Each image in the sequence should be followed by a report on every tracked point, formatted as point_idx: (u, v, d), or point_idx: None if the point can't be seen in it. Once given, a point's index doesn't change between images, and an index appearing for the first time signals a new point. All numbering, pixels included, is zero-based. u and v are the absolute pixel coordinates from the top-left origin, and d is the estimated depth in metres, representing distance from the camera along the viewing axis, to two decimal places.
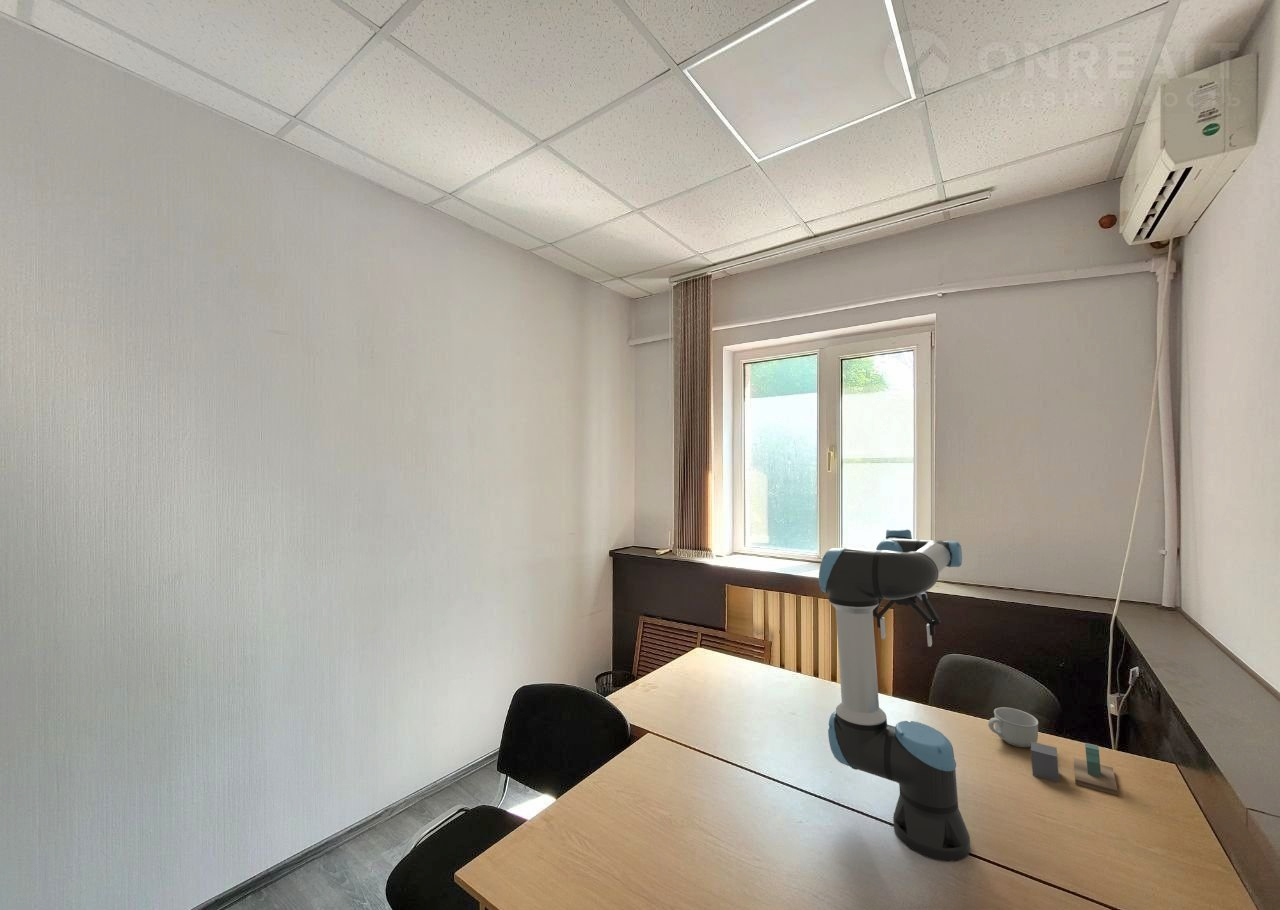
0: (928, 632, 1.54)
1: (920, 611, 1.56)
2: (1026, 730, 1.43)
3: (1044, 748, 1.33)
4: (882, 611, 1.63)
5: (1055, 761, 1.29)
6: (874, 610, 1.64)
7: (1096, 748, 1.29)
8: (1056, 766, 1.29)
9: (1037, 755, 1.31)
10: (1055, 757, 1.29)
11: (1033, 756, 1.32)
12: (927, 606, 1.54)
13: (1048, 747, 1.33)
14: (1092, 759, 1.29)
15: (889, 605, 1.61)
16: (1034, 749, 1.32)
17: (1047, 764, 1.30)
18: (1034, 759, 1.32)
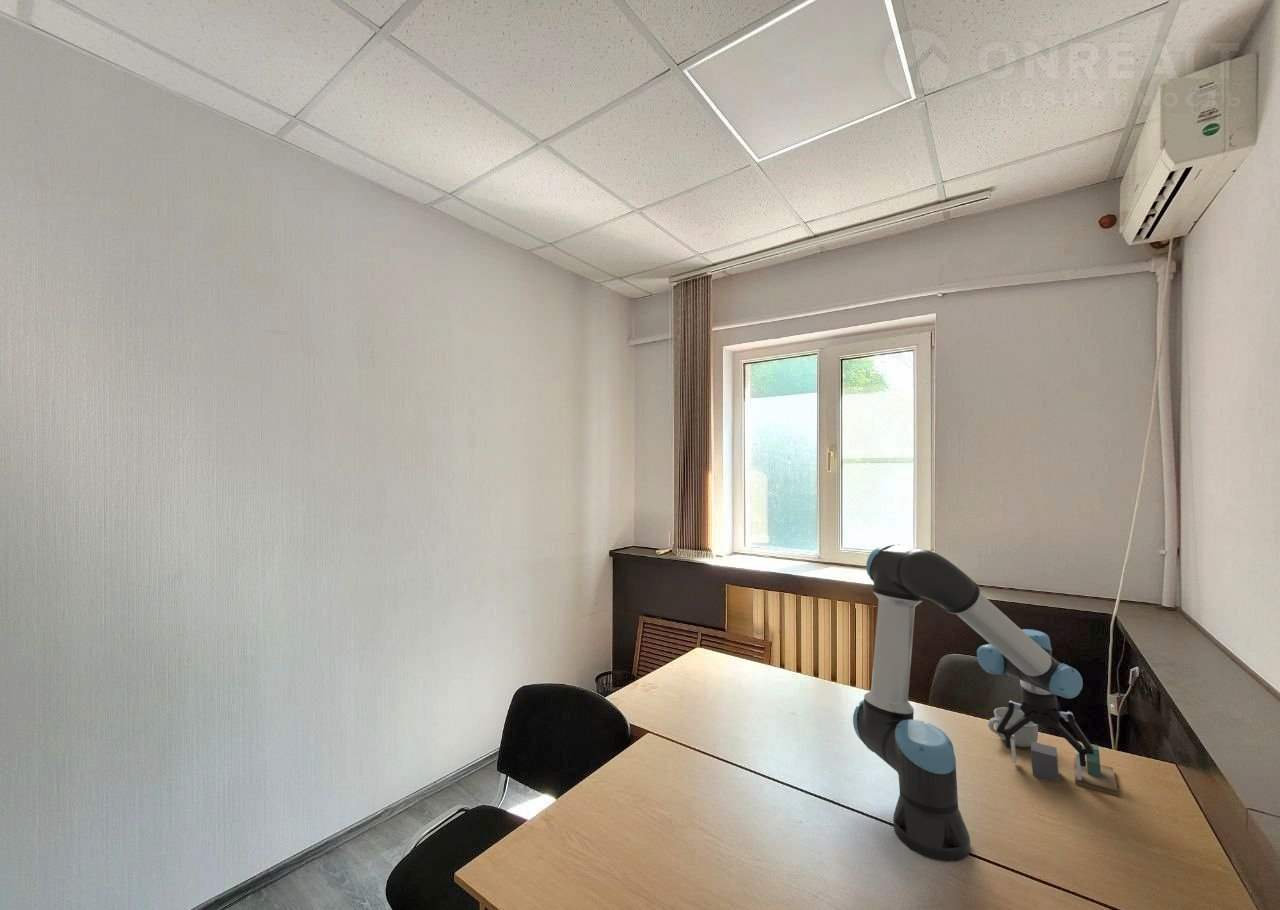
0: (1078, 762, 1.27)
1: (1066, 735, 1.29)
2: (1026, 730, 1.43)
3: (1044, 748, 1.33)
4: (1013, 729, 1.36)
5: (1055, 761, 1.29)
6: (1002, 727, 1.38)
7: (1096, 748, 1.29)
8: (1056, 766, 1.29)
9: (1037, 755, 1.31)
10: (1055, 757, 1.29)
11: (1033, 756, 1.32)
12: (1076, 730, 1.28)
13: (1048, 747, 1.33)
14: (1092, 759, 1.29)
15: (1022, 723, 1.35)
16: (1034, 749, 1.32)
17: (1047, 764, 1.30)
18: (1034, 759, 1.32)
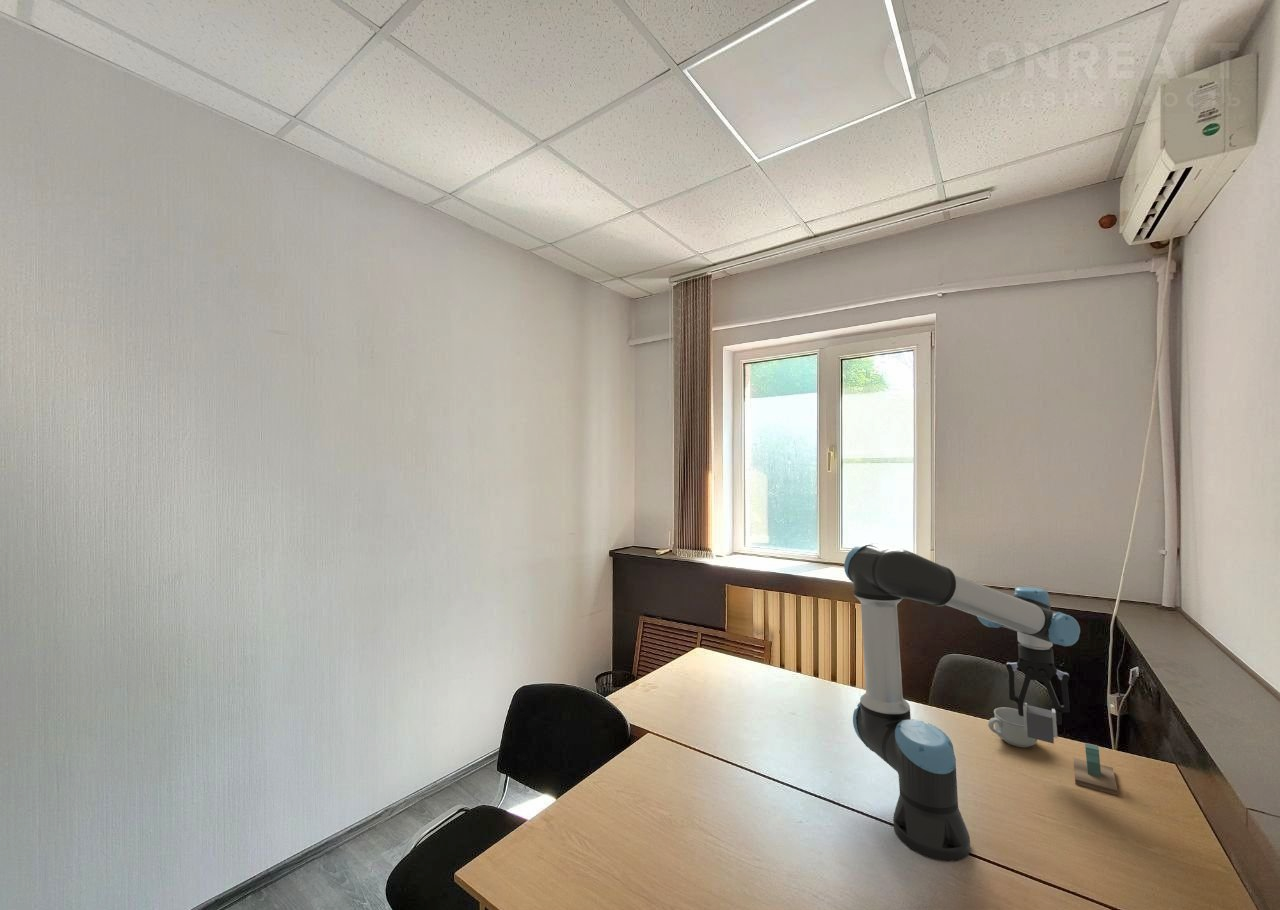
0: (1054, 720, 1.30)
1: (1052, 693, 1.31)
2: None
3: (1040, 711, 1.33)
4: (1022, 694, 1.35)
5: (1050, 722, 1.29)
6: (1012, 693, 1.36)
7: (1096, 748, 1.29)
8: (1051, 727, 1.29)
9: (1033, 717, 1.32)
10: (1051, 718, 1.29)
11: (1029, 718, 1.32)
12: (1064, 689, 1.29)
13: (1044, 710, 1.34)
14: (1092, 759, 1.29)
15: (1026, 684, 1.34)
16: (1030, 711, 1.33)
17: (1043, 726, 1.30)
18: (1029, 721, 1.32)
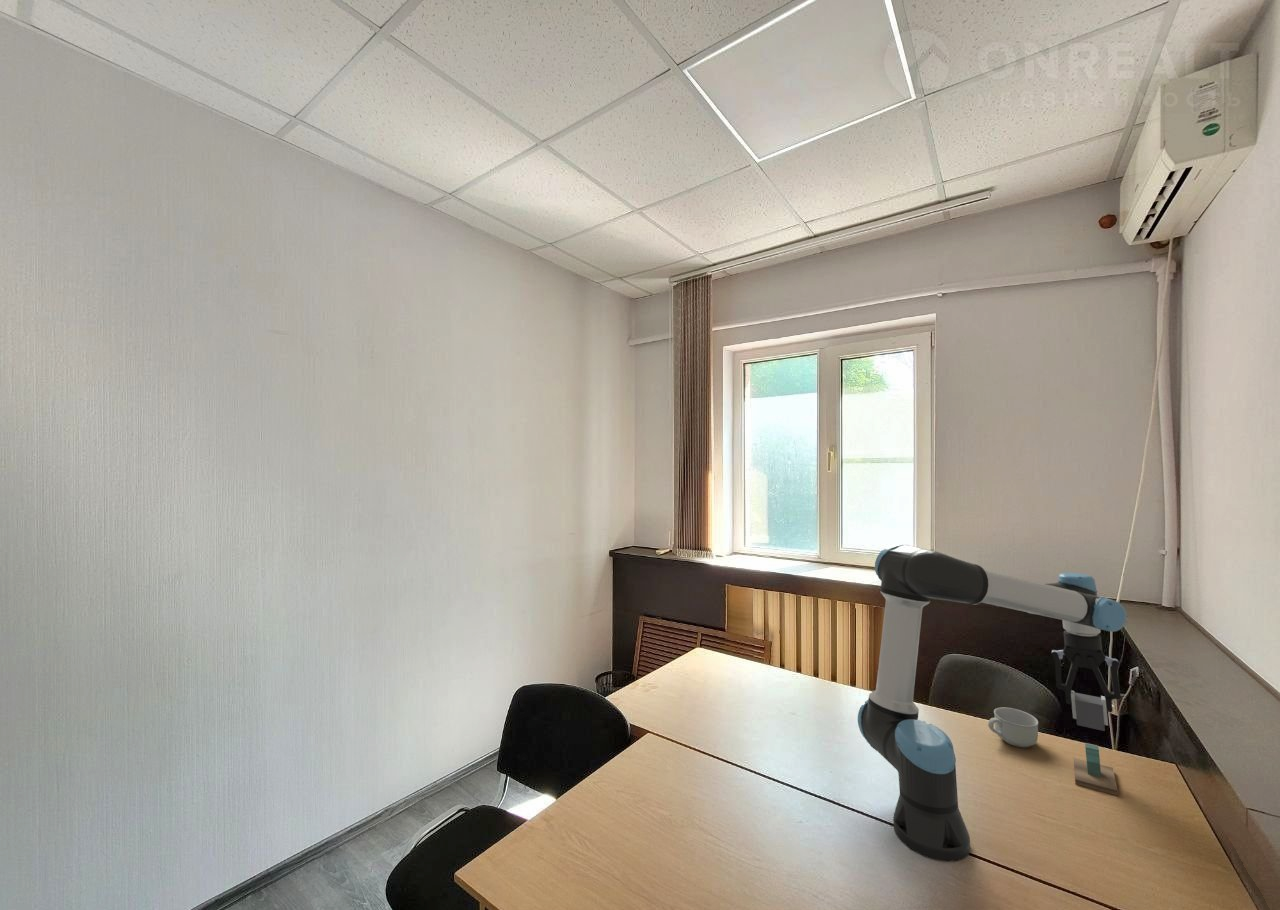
0: (1104, 708, 1.28)
1: (1101, 680, 1.28)
2: (1026, 730, 1.43)
3: (1088, 698, 1.31)
4: (1069, 682, 1.32)
5: (1101, 710, 1.27)
6: (1059, 681, 1.34)
7: (1096, 748, 1.29)
8: (1102, 715, 1.27)
9: (1082, 705, 1.29)
10: (1101, 706, 1.27)
11: (1077, 706, 1.30)
12: (1114, 676, 1.27)
13: (1092, 697, 1.31)
14: (1092, 759, 1.29)
15: (1074, 671, 1.32)
16: (1078, 699, 1.30)
17: (1093, 713, 1.28)
18: (1079, 709, 1.30)
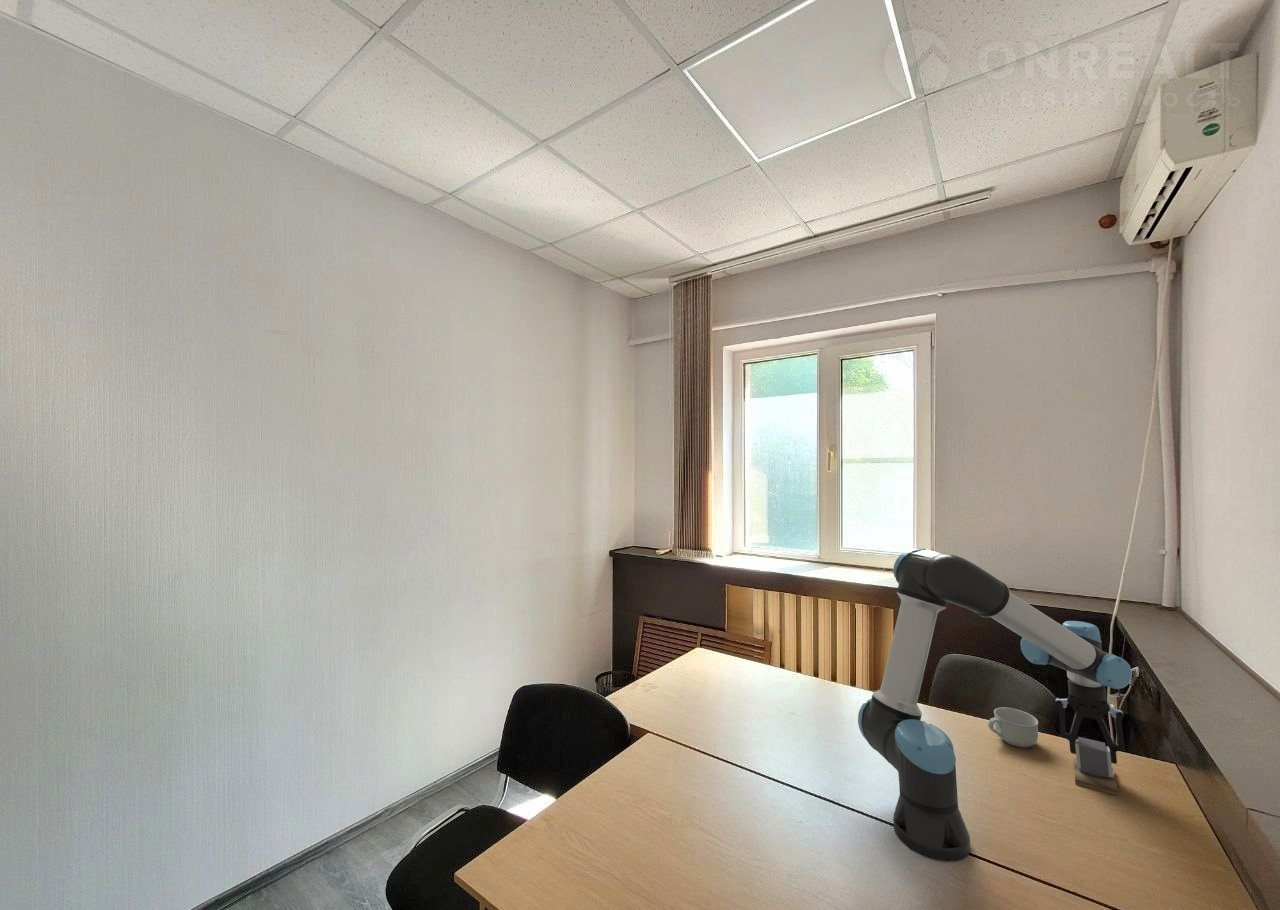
0: (1109, 759, 1.27)
1: (1105, 731, 1.28)
2: (1026, 730, 1.43)
3: (1092, 743, 1.30)
4: (1073, 731, 1.32)
5: (1105, 756, 1.26)
6: (1063, 730, 1.33)
7: None
8: (1106, 761, 1.26)
9: (1086, 751, 1.29)
10: (1105, 752, 1.26)
11: (1081, 751, 1.29)
12: (1118, 727, 1.26)
13: (1096, 742, 1.31)
14: None
15: (1078, 721, 1.31)
16: (1082, 744, 1.30)
17: (1097, 760, 1.27)
18: (1082, 754, 1.29)
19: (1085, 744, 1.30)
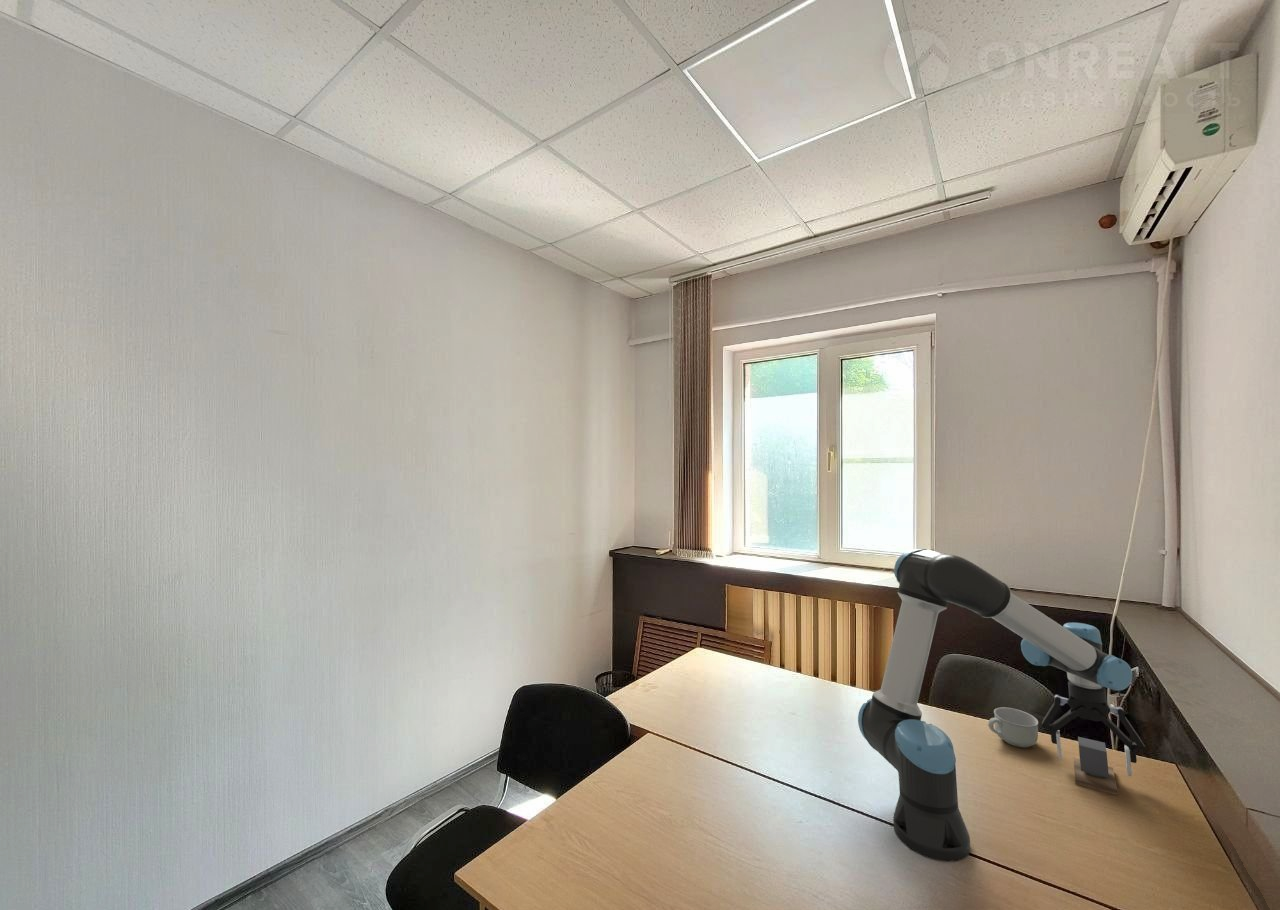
0: (1128, 758, 1.25)
1: (1116, 731, 1.26)
2: (1026, 730, 1.43)
3: (1092, 743, 1.30)
4: (1059, 724, 1.33)
5: (1105, 756, 1.26)
6: (1047, 722, 1.35)
7: None
8: (1106, 761, 1.26)
9: (1086, 751, 1.29)
10: (1105, 752, 1.26)
11: (1081, 751, 1.29)
12: (1126, 726, 1.25)
13: (1096, 742, 1.31)
14: None
15: (1069, 718, 1.32)
16: (1082, 744, 1.30)
17: (1097, 760, 1.27)
18: (1082, 754, 1.29)
19: (1085, 744, 1.30)
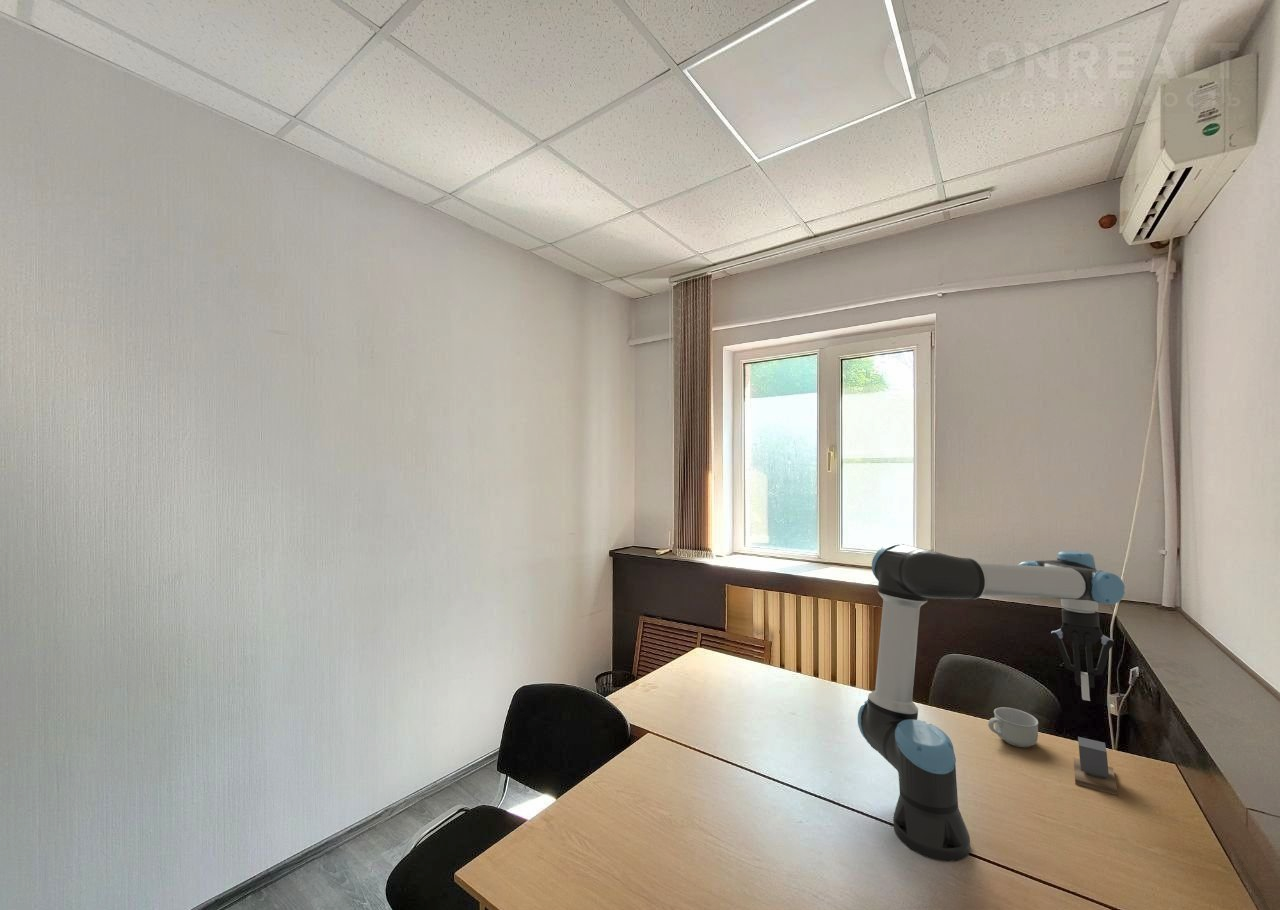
0: (1087, 683, 1.30)
1: (1090, 656, 1.29)
2: (1026, 730, 1.43)
3: (1092, 743, 1.30)
4: (1076, 662, 1.31)
5: (1105, 756, 1.26)
6: (1067, 661, 1.32)
7: None
8: (1106, 761, 1.26)
9: (1086, 751, 1.29)
10: (1105, 752, 1.26)
11: (1081, 751, 1.29)
12: (1104, 653, 1.28)
13: (1096, 742, 1.31)
14: None
15: (1077, 650, 1.31)
16: (1082, 744, 1.30)
17: (1097, 760, 1.27)
18: (1082, 754, 1.29)
19: (1085, 744, 1.30)
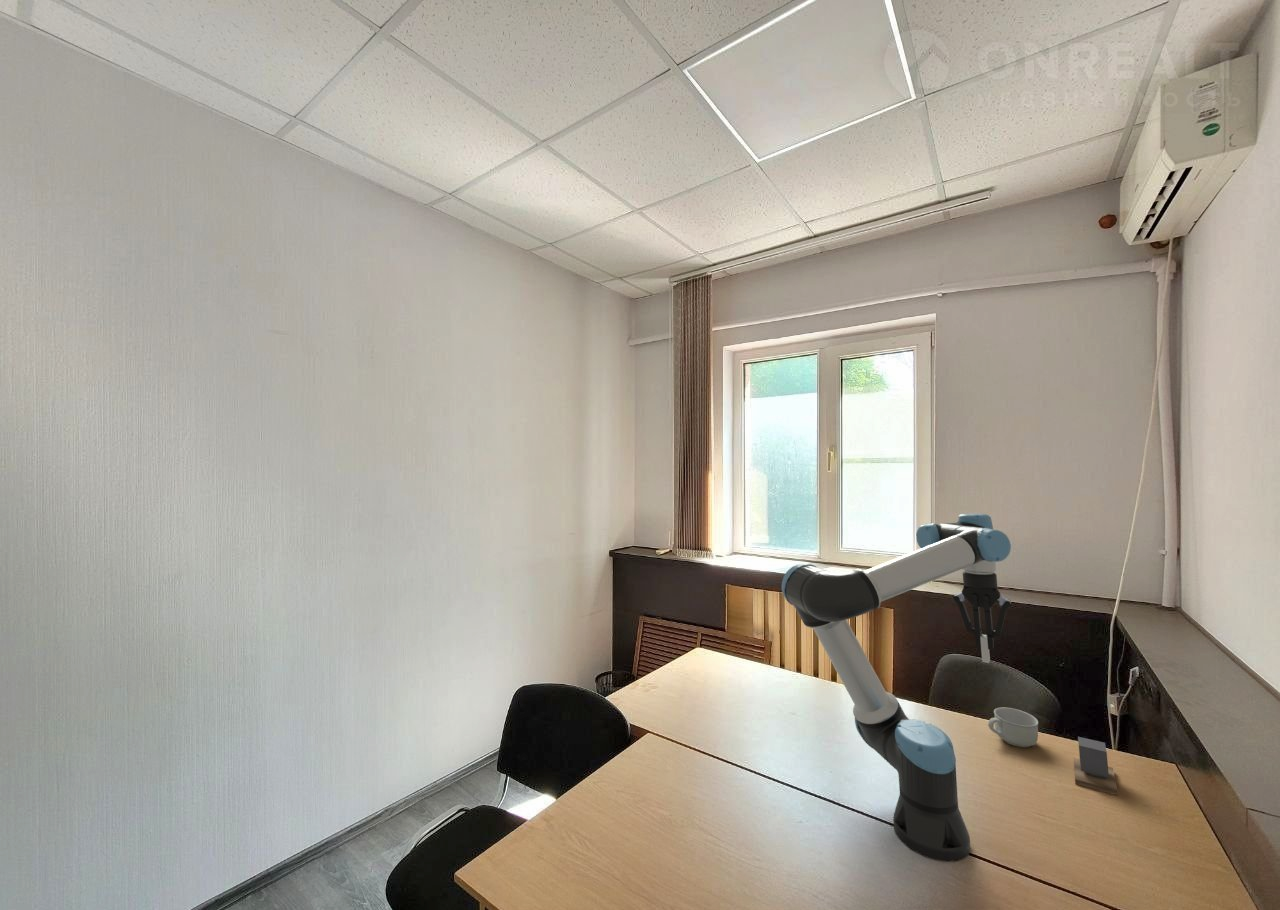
0: (986, 645, 1.29)
1: (988, 618, 1.28)
2: (1026, 730, 1.43)
3: (1092, 743, 1.30)
4: (976, 624, 1.30)
5: (1105, 756, 1.26)
6: (967, 624, 1.31)
7: None
8: (1106, 761, 1.26)
9: (1086, 751, 1.29)
10: (1105, 752, 1.26)
11: (1081, 751, 1.29)
12: (1001, 614, 1.27)
13: (1096, 742, 1.31)
14: None
15: (976, 612, 1.30)
16: (1082, 744, 1.30)
17: (1097, 760, 1.27)
18: (1082, 754, 1.29)
19: (1085, 744, 1.30)
